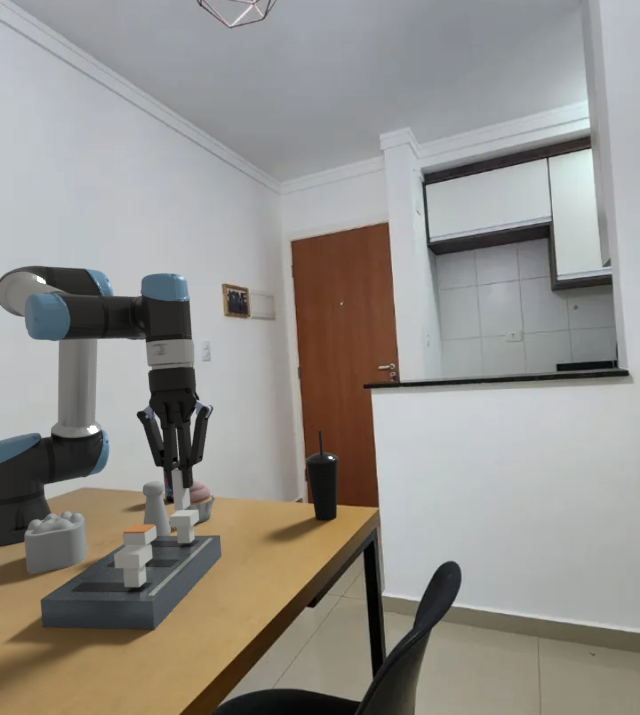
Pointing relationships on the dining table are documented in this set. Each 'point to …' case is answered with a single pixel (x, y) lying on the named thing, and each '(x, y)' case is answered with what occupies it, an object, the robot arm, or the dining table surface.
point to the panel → (131, 604)
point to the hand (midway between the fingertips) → (182, 507)
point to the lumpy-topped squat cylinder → (55, 542)
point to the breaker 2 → (184, 524)
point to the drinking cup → (323, 483)
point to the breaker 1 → (133, 563)
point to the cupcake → (200, 500)
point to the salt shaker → (156, 508)
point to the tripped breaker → (139, 535)
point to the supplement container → (168, 492)
